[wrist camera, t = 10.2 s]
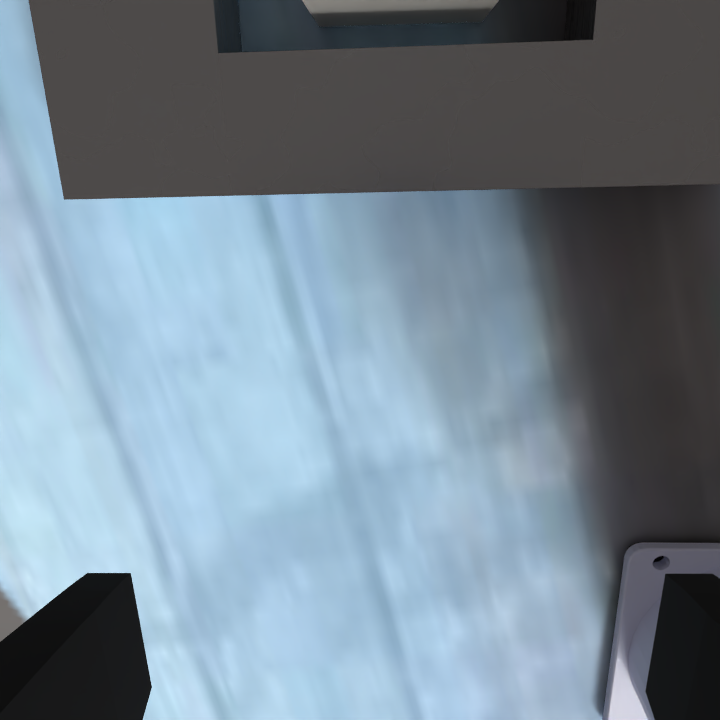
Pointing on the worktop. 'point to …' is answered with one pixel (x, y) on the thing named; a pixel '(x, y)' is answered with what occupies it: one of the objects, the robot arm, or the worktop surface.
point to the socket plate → (376, 104)
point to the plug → (397, 12)
